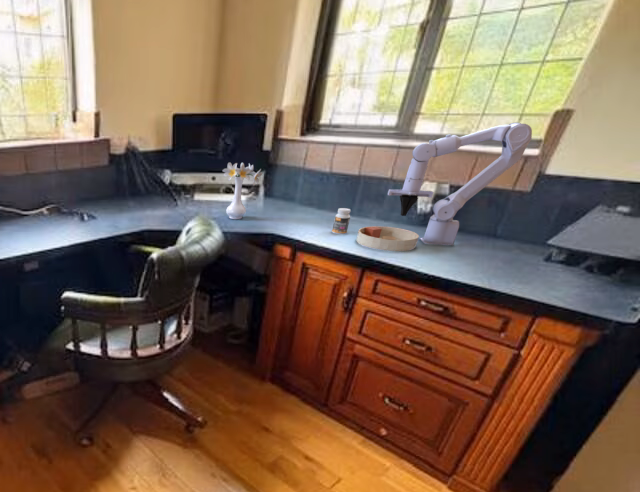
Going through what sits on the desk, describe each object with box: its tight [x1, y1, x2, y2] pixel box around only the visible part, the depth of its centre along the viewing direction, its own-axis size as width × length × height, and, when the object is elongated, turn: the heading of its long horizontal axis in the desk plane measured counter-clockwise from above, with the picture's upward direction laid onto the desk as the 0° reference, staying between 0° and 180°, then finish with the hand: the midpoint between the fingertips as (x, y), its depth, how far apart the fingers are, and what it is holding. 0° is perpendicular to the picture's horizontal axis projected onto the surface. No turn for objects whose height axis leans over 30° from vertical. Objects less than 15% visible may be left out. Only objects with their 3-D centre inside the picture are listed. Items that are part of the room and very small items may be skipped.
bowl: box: [355, 225, 420, 252], centre depth 161 cm, size 20×20×4 cm
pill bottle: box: [331, 207, 352, 235], centre depth 174 cm, size 6×6×10 cm
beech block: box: [382, 236, 395, 240], centre depth 155 cm, size 4×4×4 cm
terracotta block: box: [364, 225, 382, 238], centre depth 167 cm, size 4×4×4 cm
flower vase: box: [221, 162, 263, 220], centre depth 198 cm, size 13×18×25 cm
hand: (403, 215), depth 163 cm, fingers closed
